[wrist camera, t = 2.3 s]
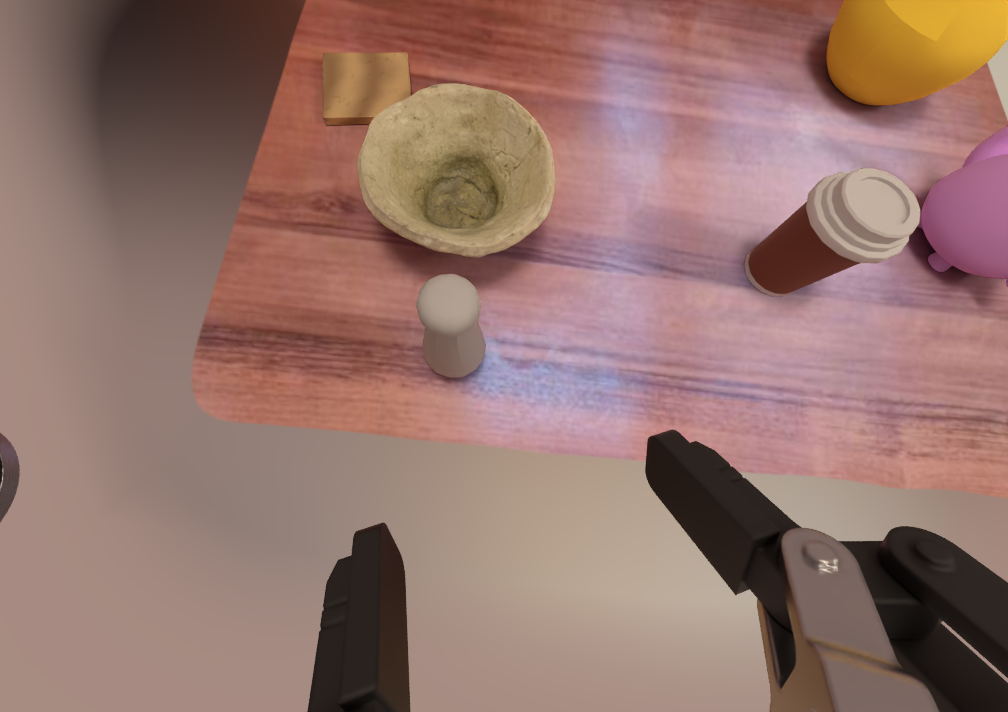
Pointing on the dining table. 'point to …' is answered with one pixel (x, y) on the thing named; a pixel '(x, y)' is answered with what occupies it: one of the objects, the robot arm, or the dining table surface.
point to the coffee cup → (835, 231)
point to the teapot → (971, 213)
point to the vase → (911, 46)
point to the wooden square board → (362, 85)
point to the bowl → (457, 170)
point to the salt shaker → (451, 325)
